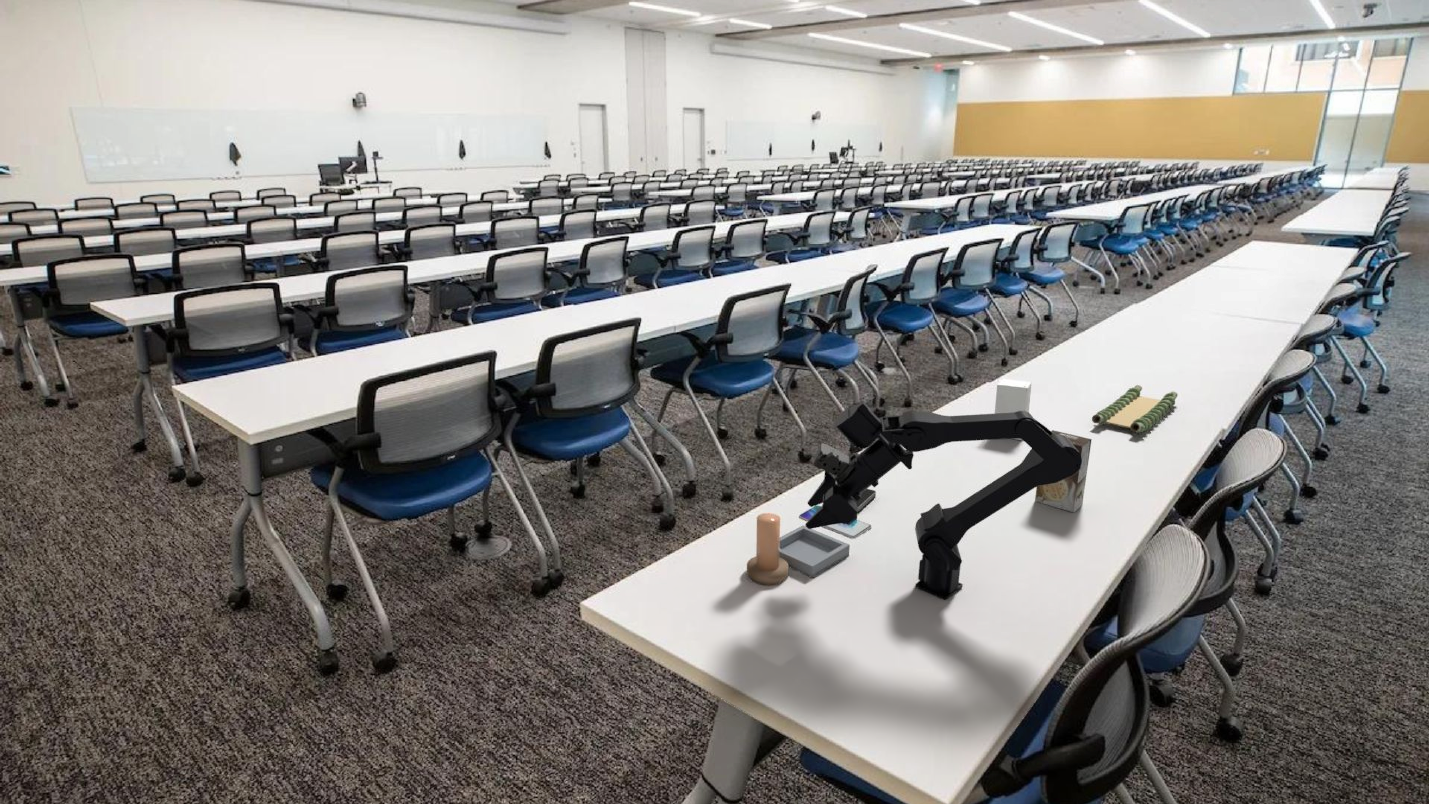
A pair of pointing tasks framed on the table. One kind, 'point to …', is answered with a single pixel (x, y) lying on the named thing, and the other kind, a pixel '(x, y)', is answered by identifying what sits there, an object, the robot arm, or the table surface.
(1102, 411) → the stretcher
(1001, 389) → the skincare box
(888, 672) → the table surface
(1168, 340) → the table surface
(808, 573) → the tray
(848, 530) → the smartphone
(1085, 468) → the coffee box
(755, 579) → the brown stone
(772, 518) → the peach stamp handle
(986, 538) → the table surface
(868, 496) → the external hard drive
